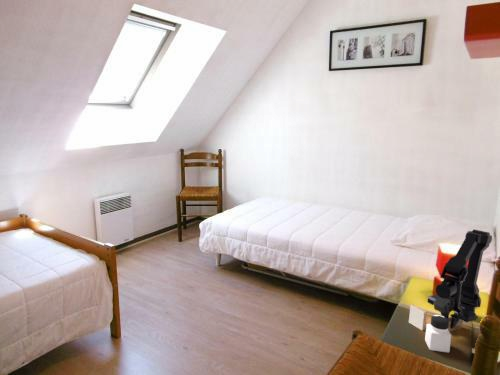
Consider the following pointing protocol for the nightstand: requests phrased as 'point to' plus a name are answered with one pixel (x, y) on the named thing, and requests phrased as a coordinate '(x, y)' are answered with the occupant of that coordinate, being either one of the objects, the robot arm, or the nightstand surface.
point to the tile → (417, 317)
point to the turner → (457, 326)
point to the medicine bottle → (438, 334)
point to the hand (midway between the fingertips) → (448, 326)
